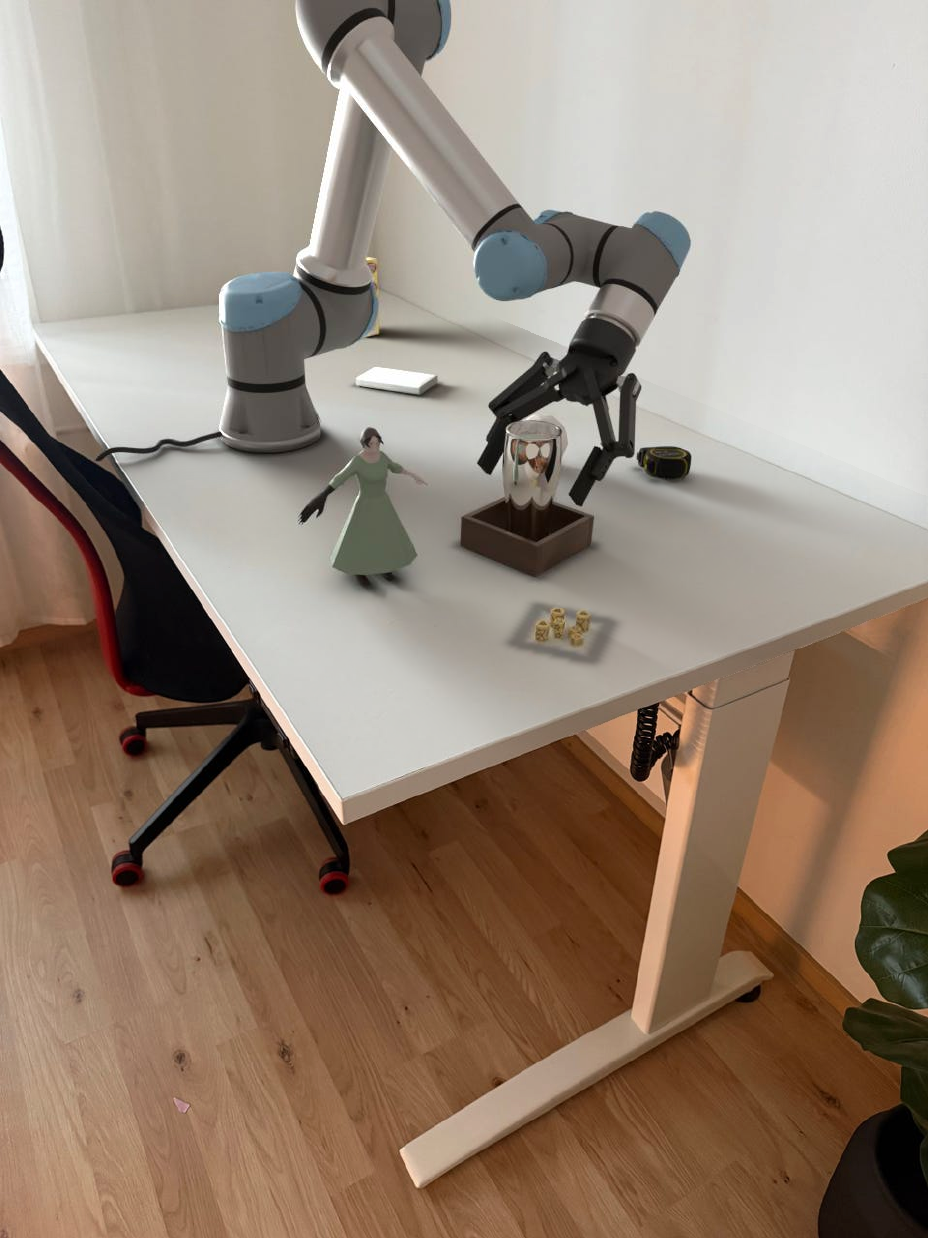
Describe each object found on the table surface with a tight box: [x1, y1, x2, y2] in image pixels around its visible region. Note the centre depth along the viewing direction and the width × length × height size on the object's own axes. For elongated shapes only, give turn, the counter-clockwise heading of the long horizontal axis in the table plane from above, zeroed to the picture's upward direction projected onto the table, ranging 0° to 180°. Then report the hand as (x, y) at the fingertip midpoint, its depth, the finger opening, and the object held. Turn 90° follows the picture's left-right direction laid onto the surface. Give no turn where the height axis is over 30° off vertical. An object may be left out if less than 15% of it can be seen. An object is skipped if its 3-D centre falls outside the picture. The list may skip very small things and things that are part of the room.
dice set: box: [534, 606, 591, 648], centre depth 100 cm, size 5×5×2 cm
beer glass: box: [501, 419, 563, 543], centre depth 114 cm, size 7×7×15 cm
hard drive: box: [355, 366, 439, 396], centre depth 171 cm, size 2×8×12 cm
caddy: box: [459, 495, 595, 578], centre depth 116 cm, size 12×12×4 cm
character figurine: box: [297, 426, 428, 587], centre depth 104 cm, size 16×8×18 cm, turn 121°
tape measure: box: [636, 445, 692, 481], centre depth 137 cm, size 7×7×4 cm
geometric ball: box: [524, 413, 569, 457], centre depth 138 cm, size 8×8×8 cm
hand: (527, 484), depth 113 cm, fingers open, 13 cm apart
